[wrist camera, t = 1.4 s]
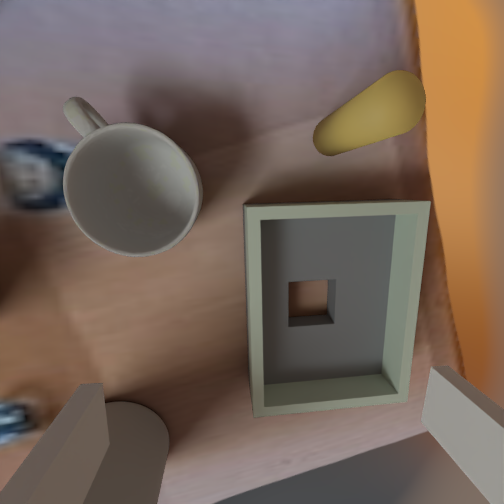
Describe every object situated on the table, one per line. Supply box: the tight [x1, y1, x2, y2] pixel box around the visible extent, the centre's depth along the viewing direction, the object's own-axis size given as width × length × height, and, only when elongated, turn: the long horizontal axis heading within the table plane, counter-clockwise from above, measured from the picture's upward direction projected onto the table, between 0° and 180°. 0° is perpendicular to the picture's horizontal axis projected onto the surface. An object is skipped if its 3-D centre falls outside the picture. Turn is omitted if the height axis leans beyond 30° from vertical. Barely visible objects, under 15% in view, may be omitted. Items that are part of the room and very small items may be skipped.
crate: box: [243, 199, 431, 418], centre depth 31 cm, size 23×18×6 cm
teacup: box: [63, 97, 203, 257], centre depth 25 cm, size 14×11×8 cm
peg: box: [313, 70, 426, 156], centre depth 24 cm, size 4×4×12 cm
